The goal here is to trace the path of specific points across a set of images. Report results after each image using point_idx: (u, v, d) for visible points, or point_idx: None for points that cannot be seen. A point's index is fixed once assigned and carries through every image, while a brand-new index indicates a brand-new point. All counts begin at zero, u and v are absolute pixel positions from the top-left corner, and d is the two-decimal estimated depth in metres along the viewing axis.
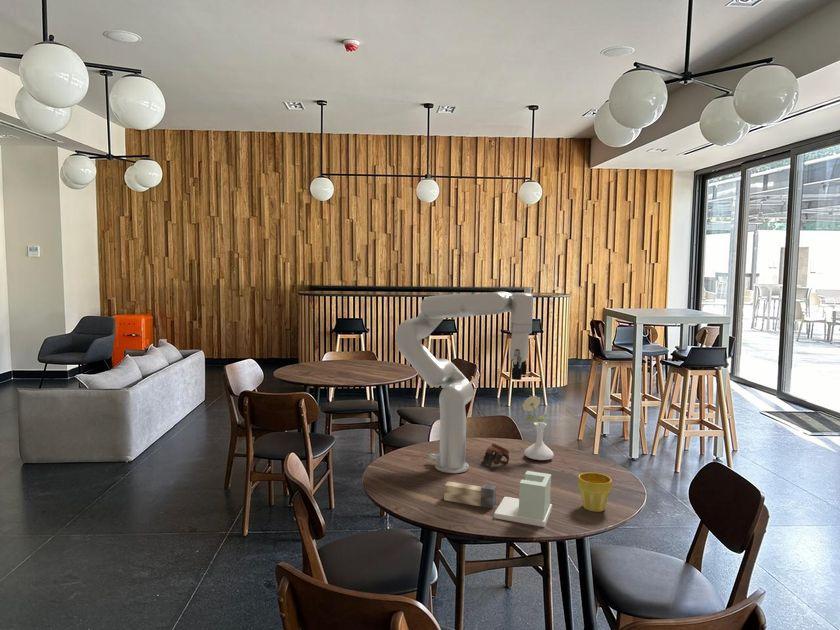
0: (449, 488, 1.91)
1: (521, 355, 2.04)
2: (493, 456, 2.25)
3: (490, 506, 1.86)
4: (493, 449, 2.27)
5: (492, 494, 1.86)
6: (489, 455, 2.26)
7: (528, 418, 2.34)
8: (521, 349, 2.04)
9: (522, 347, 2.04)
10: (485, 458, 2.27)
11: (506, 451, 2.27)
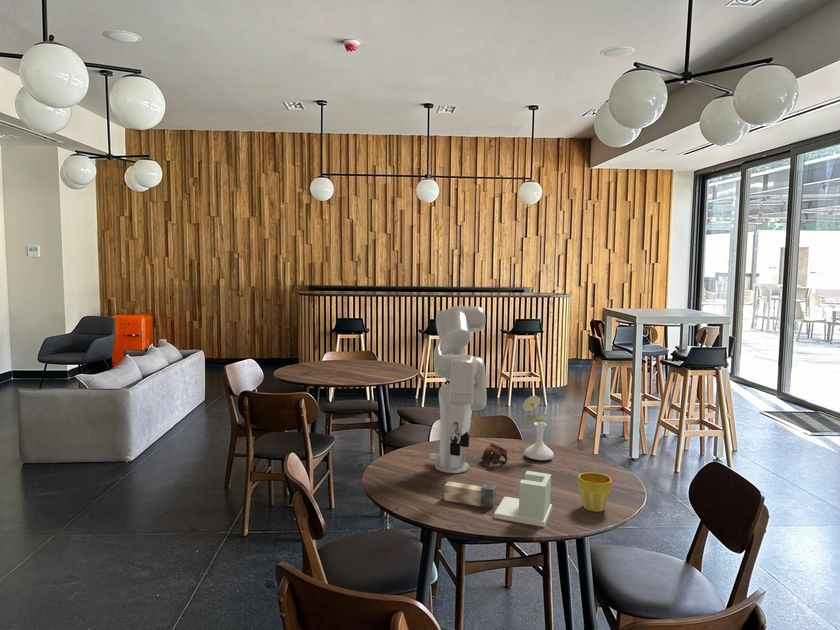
0: (449, 488, 1.91)
1: (460, 429, 1.85)
2: (491, 456, 2.25)
3: (490, 506, 1.86)
4: (491, 449, 2.27)
5: (492, 494, 1.86)
6: (487, 455, 2.26)
7: (528, 418, 2.34)
8: (459, 422, 1.85)
9: (461, 420, 1.85)
10: (483, 458, 2.28)
11: (504, 451, 2.27)
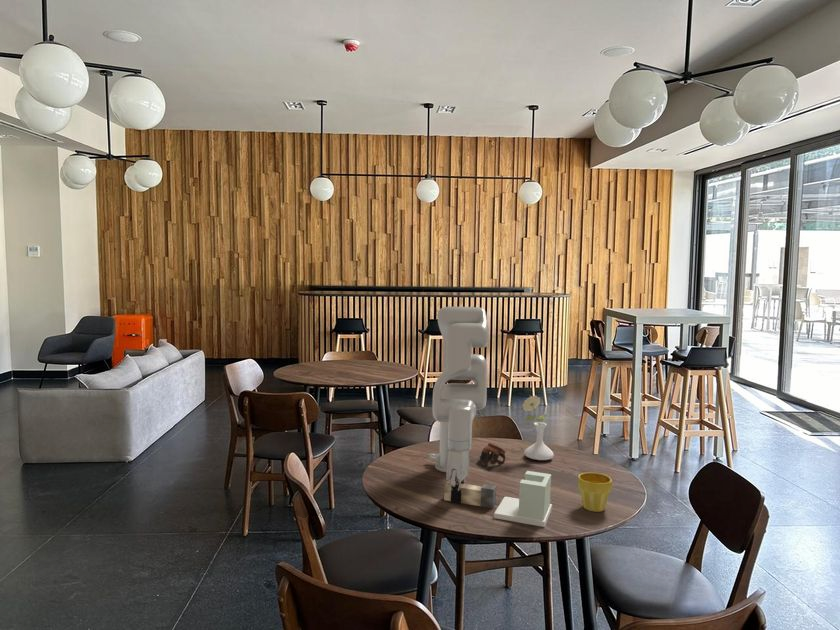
0: (449, 488, 1.91)
1: (458, 476, 1.86)
2: (489, 456, 2.26)
3: (490, 506, 1.86)
4: (489, 449, 2.27)
5: (492, 494, 1.86)
6: (486, 455, 2.27)
7: (528, 418, 2.34)
8: (458, 469, 1.86)
9: (459, 467, 1.86)
10: (481, 458, 2.28)
11: (502, 450, 2.27)
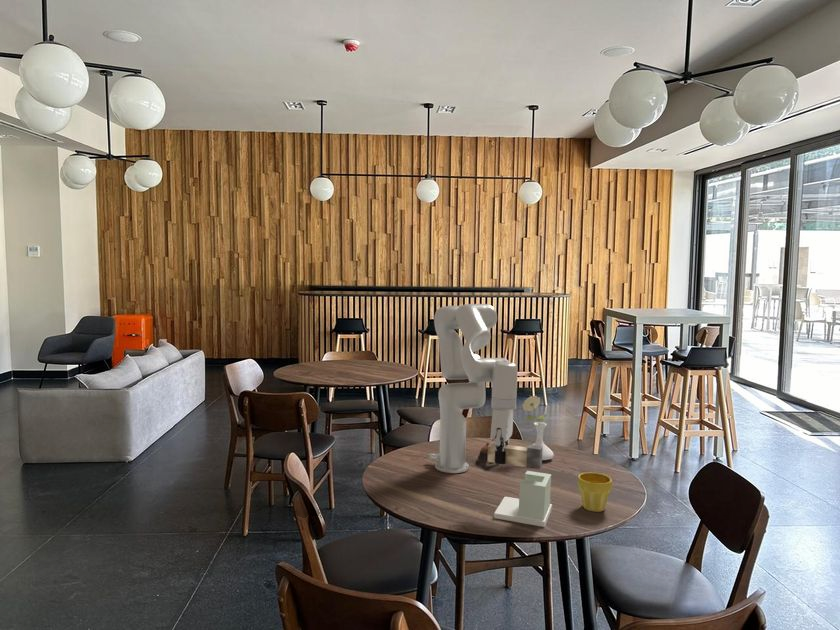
0: (492, 449, 1.83)
1: (503, 435, 1.78)
2: None
3: (537, 467, 1.79)
4: (487, 448, 2.27)
5: (539, 454, 1.78)
6: (484, 455, 2.27)
7: (528, 418, 2.34)
8: (503, 428, 1.78)
9: (504, 426, 1.78)
10: (480, 457, 2.28)
11: None
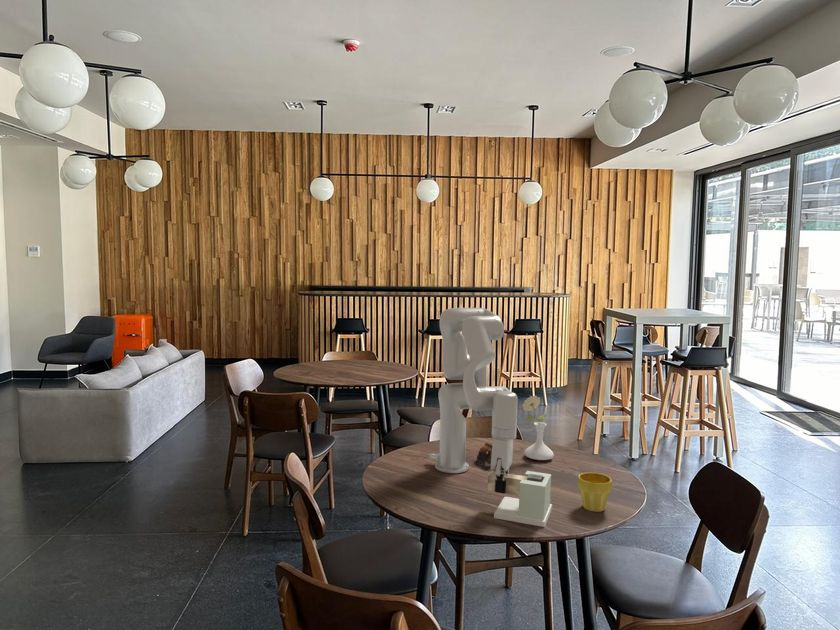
0: (493, 478, 1.84)
1: (503, 465, 1.79)
2: (487, 455, 2.26)
3: None
4: (486, 448, 2.27)
5: None
6: (483, 455, 2.27)
7: (528, 418, 2.34)
8: (503, 458, 1.79)
9: (505, 456, 1.79)
10: (479, 457, 2.28)
11: None
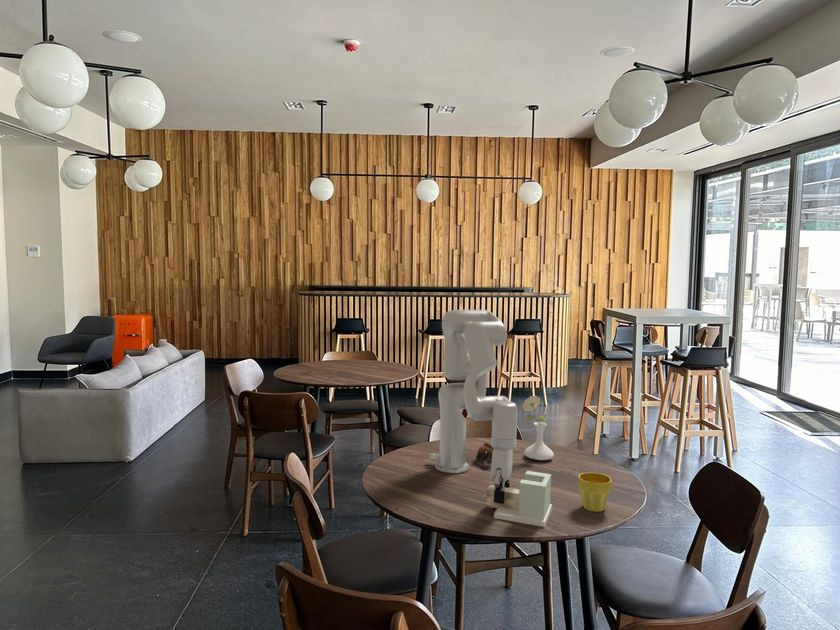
0: (491, 492, 1.84)
1: (503, 475, 1.79)
2: (485, 455, 2.26)
3: None
4: (485, 448, 2.27)
5: None
6: (482, 455, 2.27)
7: (528, 418, 2.34)
8: (503, 468, 1.79)
9: (504, 466, 1.79)
10: (477, 457, 2.28)
11: None
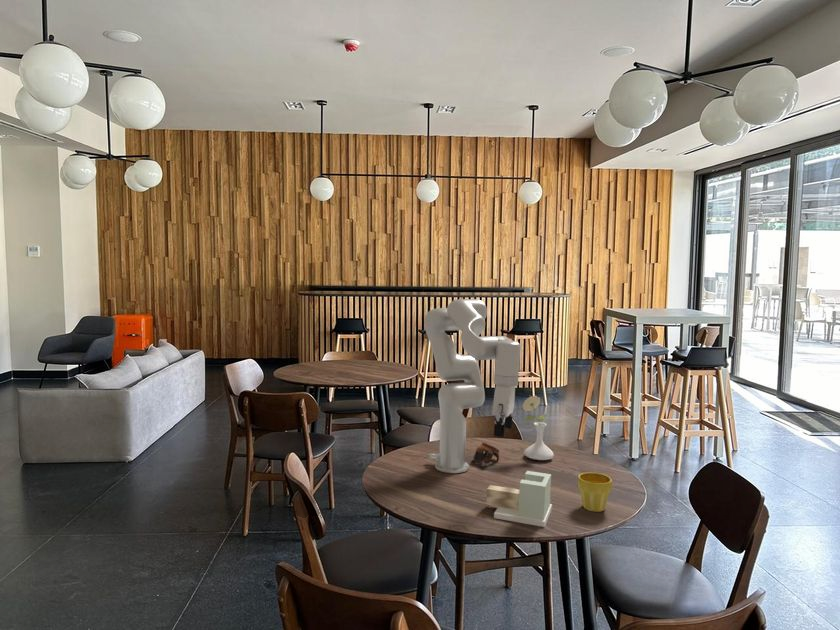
0: (491, 492, 1.84)
1: (505, 410, 1.85)
2: (483, 455, 2.26)
3: None
4: (483, 448, 2.28)
5: None
6: (480, 455, 2.27)
7: (528, 418, 2.34)
8: (504, 404, 1.85)
9: (506, 402, 1.85)
10: (475, 457, 2.28)
11: (496, 450, 2.28)
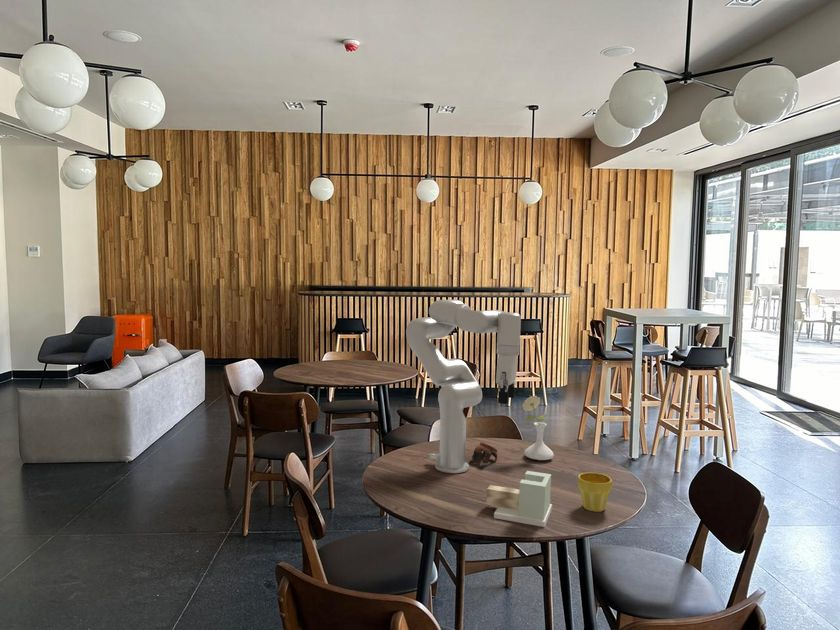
0: (491, 492, 1.84)
1: (508, 378, 1.95)
2: (482, 455, 2.26)
3: None
4: (482, 448, 2.28)
5: None
6: (478, 454, 2.27)
7: (528, 418, 2.34)
8: (507, 371, 1.94)
9: (509, 370, 1.94)
10: (474, 457, 2.28)
11: (494, 449, 2.28)
